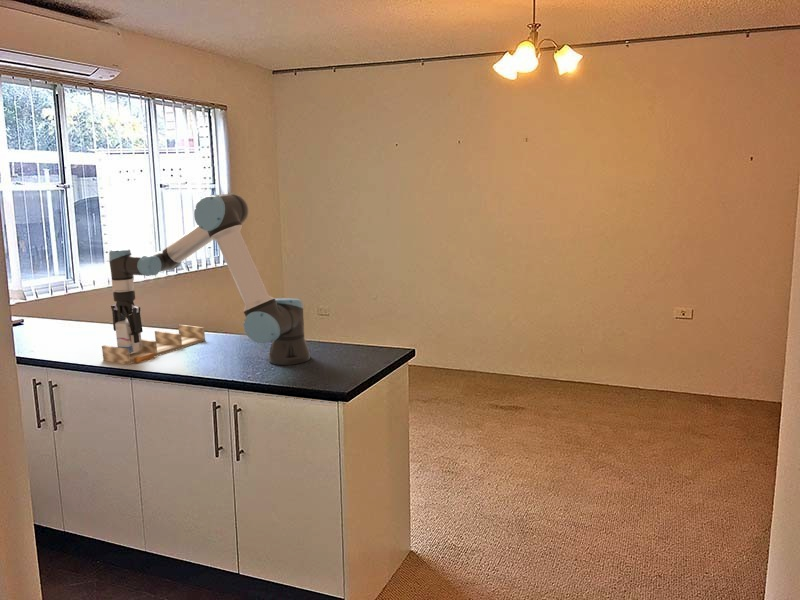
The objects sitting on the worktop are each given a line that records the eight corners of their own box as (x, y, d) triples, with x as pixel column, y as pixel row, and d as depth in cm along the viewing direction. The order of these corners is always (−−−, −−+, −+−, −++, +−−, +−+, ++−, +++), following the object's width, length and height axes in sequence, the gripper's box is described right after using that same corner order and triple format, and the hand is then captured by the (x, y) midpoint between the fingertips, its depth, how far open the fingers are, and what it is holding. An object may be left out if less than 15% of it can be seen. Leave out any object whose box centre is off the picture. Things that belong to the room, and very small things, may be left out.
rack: (208, 341, 280) (206, 327, 279) (131, 365, 247) (129, 350, 246) (181, 337, 288) (180, 324, 287) (103, 360, 255) (101, 345, 254)
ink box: (129, 354, 252) (125, 323, 250) (117, 353, 253) (113, 323, 251) (143, 348, 260) (139, 318, 258) (131, 348, 262) (128, 318, 259)
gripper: (149, 290, 251) (155, 350, 255) (115, 287, 260) (121, 345, 264) (132, 293, 245) (139, 355, 249) (98, 290, 254) (105, 349, 258)
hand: (130, 349), depth 257 cm, fingers closed on ink box, 6 cm apart
